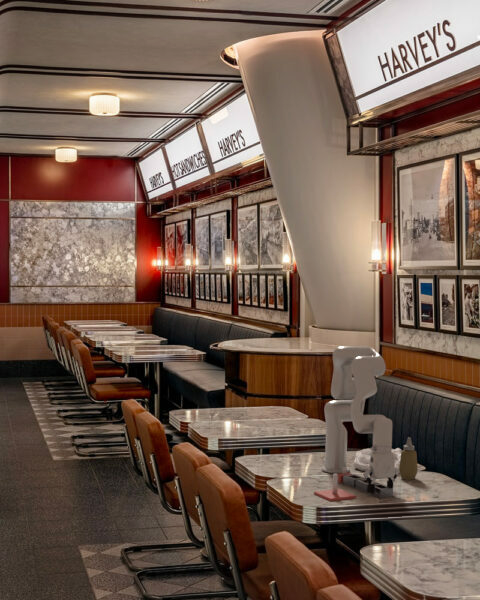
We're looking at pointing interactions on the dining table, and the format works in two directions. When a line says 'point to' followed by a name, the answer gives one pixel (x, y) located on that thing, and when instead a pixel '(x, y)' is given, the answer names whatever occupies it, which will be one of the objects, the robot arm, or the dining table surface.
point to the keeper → (334, 492)
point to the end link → (383, 491)
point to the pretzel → (364, 458)
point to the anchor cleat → (340, 476)
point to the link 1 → (351, 480)
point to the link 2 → (363, 485)
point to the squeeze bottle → (408, 462)
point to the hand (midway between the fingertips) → (380, 492)
